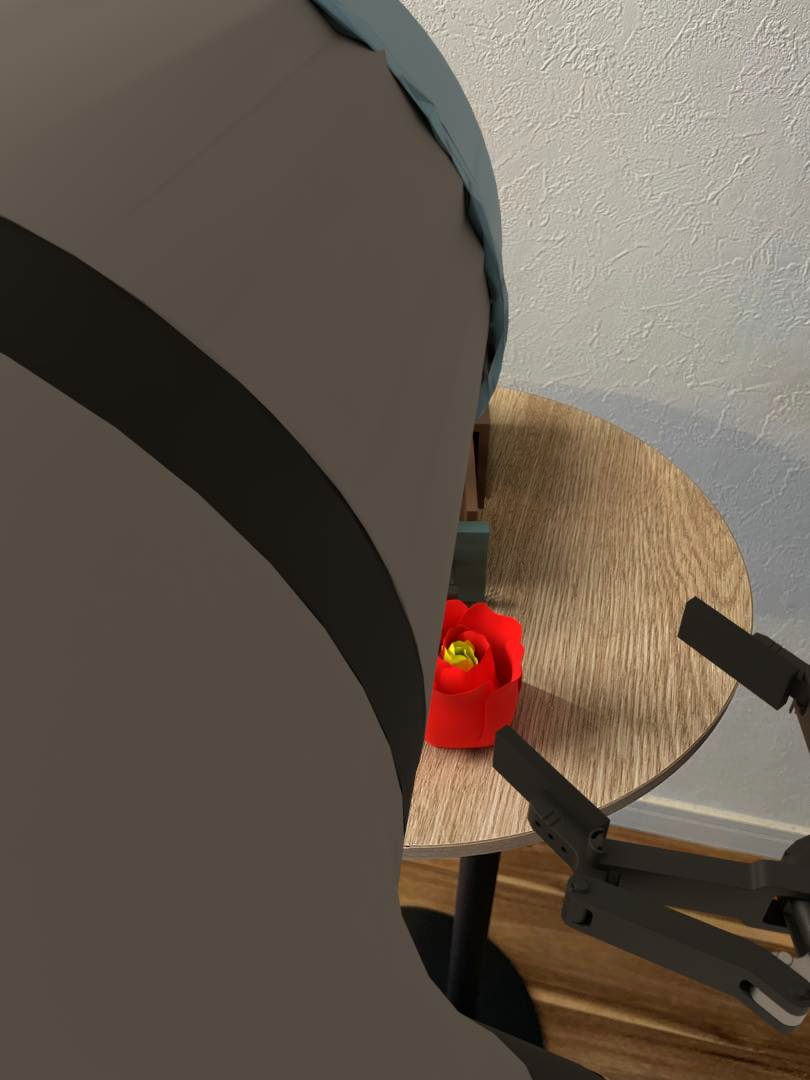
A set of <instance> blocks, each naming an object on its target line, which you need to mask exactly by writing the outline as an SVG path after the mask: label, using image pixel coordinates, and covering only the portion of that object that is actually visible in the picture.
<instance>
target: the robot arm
mask: <svg viewBox="0 0 810 1080" xmlns="http://www.w3.org/2000/svg"><path fill="white" fill-rule="evenodd" d="M469 101H470V100H469V99H468V97H467V96H466V94H465V92H464V89H463V87H462V86H461V84H460V81H459V80H458V78H457V76H456V75H455V73H454V71H453V70H452V68H451V67H450V65H449V63H448V61H447V60H446V58H445V57H444V55H443V53H442V52H441V51H440V49H439V48H438V46H437V45H436V43H435V42H434V40H433V39H432V38H431V37H430V35H429V33H428V32H427V31H426V30H425V28H424V27H423V26H422V25H421V24H420V22H419V21H418V20H417V19H416V18H415V16H414V15H413V14H412V13H411V11H410V10H409V9H408V8H407V7H406V6H405V4H403V2H402V1H401V0H0V1080H611V1079H610V1078H609V1077H606V1076H604V1075H602V1074H600V1073H598V1072H596V1071H593V1070H592V1069H589V1068H587V1067H585V1066H583V1065H582V1064H580V1063H578V1062H576V1061H573V1060H571V1059H569V1058H566V1057H564V1056H561V1055H559V1054H556V1053H555V1052H552V1051H550V1050H547V1049H545V1048H542V1047H540V1046H537V1045H535V1044H533V1043H530V1042H528V1041H526V1040H523V1039H521V1038H519V1037H516V1036H514V1035H511V1034H509V1033H507V1032H503V1031H502V1030H499V1029H497V1028H495V1027H493V1026H490V1025H488V1024H485V1023H483V1022H480V1021H478V1020H475V1019H473V1018H471V1017H469V1016H466V1015H464V1014H463V1013H461V1012H459V1010H458V1009H457V1008H456V1007H455V1005H453V1003H452V1002H451V1001H450V1000H449V999H448V997H447V996H446V995H445V994H444V993H443V992H442V990H441V989H440V988H439V987H438V985H436V983H435V982H434V980H433V979H431V978H430V976H429V974H428V971H427V969H426V967H425V964H424V962H423V960H422V958H421V956H420V954H419V950H418V949H417V947H416V944H415V942H414V940H413V938H412V935H411V933H410V931H409V928H408V926H407V924H406V921H405V919H404V918H403V915H402V909H401V903H400V895H399V884H400V875H401V869H402V861H403V853H404V847H405V840H406V833H407V827H408V824H409V823H408V822H409V817H410V811H411V806H412V799H413V794H414V790H415V782H416V777H417V772H418V768H419V765H420V762H421V758H422V753H423V749H424V744H425V741H426V740H425V734H426V728H427V721H428V715H429V709H430V702H431V696H432V689H433V683H434V677H435V670H436V664H437V657H438V651H439V645H440V638H441V632H442V625H443V619H444V613H445V606H446V600H447V594H448V587H449V581H450V574H451V568H452V562H453V555H454V549H455V542H456V536H457V530H458V523H459V517H460V510H461V504H462V498H463V491H464V485H465V478H466V472H467V466H468V459H469V453H470V446H471V441H472V435H473V429H474V424H475V422H476V421H477V419H478V418H479V417H480V416H481V415H482V414H483V413H484V411H485V409H486V407H487V405H488V403H490V401H491V400H492V397H493V395H494V393H495V391H496V389H497V386H498V382H499V380H500V375H501V372H502V367H503V360H504V355H505V351H506V350H505V349H506V346H507V342H508V335H509V334H508V333H509V323H510V321H509V320H510V319H509V317H510V315H509V305H510V304H509V292H508V288H507V283H506V279H505V275H504V273H505V272H504V264H503V262H504V261H503V254H502V253H503V227H502V225H503V224H502V213H501V211H502V210H501V204H500V197H499V193H498V192H499V191H498V185H497V180H496V176H495V173H494V168H493V165H492V160H491V157H490V154H489V151H488V147H487V144H486V141H485V138H484V135H483V132H482V129H481V127H480V124H479V123H478V120H477V117H476V115H475V112H474V110H473V108H472V105H471V103H470V102H469ZM676 637H677V638H678V639H679V640H681V641H682V642H683V643H685V644H686V645H687V646H689V648H691V649H693V650H694V651H695V652H697V653H698V654H699V655H701V656H702V657H704V658H705V659H706V660H708V661H709V662H711V663H712V664H713V665H714V666H715V667H717V668H718V669H720V670H721V671H722V672H724V673H725V674H727V675H728V676H729V677H731V678H732V679H733V680H735V681H736V682H737V683H739V684H740V685H742V686H743V687H744V688H746V689H747V690H748V691H750V692H751V693H752V694H754V696H756V697H758V698H759V699H760V700H762V701H763V702H765V703H766V704H767V705H768V706H770V707H771V708H773V709H774V710H775V711H776V712H778V711H779V710H780V709H782V708H783V707H784V706H785V705H787V703H788V701H789V698H792V701H791V704H790V706H789V709H788V714H792V713H793V710H794V713H793V714H794V715H796V717H797V721H798V723H799V726H800V730H801V733H802V735H803V739H804V742H805V745H806V748H807V751H808V753H809V755H810V664H809V663H807V662H805V661H804V660H803V659H801V658H800V657H798V656H797V655H795V654H794V653H792V652H791V651H790V650H788V649H787V648H785V647H783V646H782V645H781V644H780V643H778V642H776V641H775V640H773V639H772V638H771V637H770V636H768V635H765V634H763V633H760V632H758V631H757V632H755V633H754V634H751V633H750V632H748V631H747V630H745V629H744V628H742V627H741V626H740V625H738V624H737V623H735V622H734V621H733V620H731V619H730V618H728V617H727V616H725V615H724V614H722V613H721V612H719V611H718V610H717V609H715V608H713V606H711V605H710V604H708V603H707V602H705V601H704V600H702V599H701V598H700V597H698V596H696V595H694V596H693V597H691V598H689V600H687V601H686V602H685V605H684V609H683V613H682V617H681V620H680V624H679V629H678V632H677V635H676ZM492 755H493V756H492V763H491V767H492V768H493V769H494V770H495V772H497V774H499V775H500V776H501V777H502V779H504V780H505V781H506V782H507V783H508V784H509V785H510V786H511V787H512V788H513V789H514V790H516V792H517V793H518V794H519V795H520V796H522V798H524V799H525V800H526V802H528V809H527V816H526V819H527V821H528V823H529V826H530V828H531V830H533V831H534V832H535V833H536V835H537V836H538V837H540V838H541V839H542V841H544V842H545V843H546V844H547V846H549V848H550V849H552V851H553V852H555V853H556V855H558V857H560V859H562V861H564V862H565V863H566V865H568V866H569V868H570V869H571V871H572V875H571V876H569V878H568V879H567V882H566V887H565V891H564V896H563V901H562V905H561V906H562V907H561V910H560V917H561V920H562V922H563V923H564V924H565V925H566V926H568V927H569V928H570V929H573V930H575V931H577V932H580V933H583V934H585V935H587V936H589V937H592V938H593V939H596V940H598V941H601V942H603V943H606V944H608V945H611V946H613V947H615V948H618V949H620V950H622V951H624V952H627V953H629V954H632V955H634V956H636V957H638V958H641V959H644V960H646V961H648V962H650V963H652V964H655V965H657V966H660V967H662V968H664V969H667V970H669V971H672V972H674V973H676V974H679V975H681V976H683V977H686V978H688V979H690V980H693V981H694V982H697V983H700V984H701V985H704V986H706V987H709V988H711V989H714V990H715V991H717V992H721V993H723V994H725V995H728V996H730V997H732V998H735V999H737V1000H738V1001H739V1002H740V1003H742V1005H744V1006H745V1007H747V1008H748V1009H749V1010H750V1011H751V1012H753V1013H754V1014H755V1015H756V1016H758V1018H760V1019H761V1020H762V1021H764V1022H765V1023H766V1024H767V1025H769V1026H770V1027H771V1028H772V1029H774V1030H775V1031H776V1032H778V1033H780V1034H783V1035H790V1034H793V1033H795V1032H796V1031H797V1030H798V1028H799V1027H800V1026H801V1024H802V1022H803V1021H804V1019H805V1017H806V1016H807V1015H808V1013H809V1012H810V834H807V835H805V836H802V837H801V838H798V839H796V840H795V841H794V842H793V843H792V844H790V845H789V846H788V847H787V848H786V849H785V850H784V853H783V855H782V857H781V859H780V861H779V860H778V861H777V860H772V859H759V860H756V861H753V862H744V861H739V860H732V859H728V858H727V859H726V858H720V857H714V856H709V855H704V854H697V853H693V852H687V851H681V850H675V849H669V848H663V847H657V846H653V845H652V846H651V845H646V844H642V843H641V844H640V843H635V842H629V841H623V840H617V839H613V838H607V836H608V833H609V828H610V824H611V819H610V817H608V816H607V815H606V814H605V813H604V812H602V810H600V809H599V808H598V807H597V806H596V805H595V804H594V803H593V802H592V801H591V800H590V799H589V798H588V797H587V796H586V795H584V794H583V792H581V791H580V790H579V788H577V787H576V786H575V785H574V784H572V783H571V782H570V781H569V780H568V778H567V777H565V776H564V775H563V774H562V773H561V772H560V771H559V770H558V769H556V768H555V767H554V766H553V765H552V764H551V763H550V762H549V761H548V760H547V759H546V758H545V757H544V756H542V755H541V754H540V753H539V752H538V751H537V750H536V749H535V748H534V747H533V746H531V744H529V742H527V741H526V740H525V739H524V738H523V737H522V736H521V735H520V734H519V733H518V732H517V731H516V730H514V729H513V727H511V725H510V726H509V725H508V724H507V725H505V726H504V727H502V728H501V729H499V730H498V731H496V732H495V741H494V745H493V754H492ZM775 897H776V899H774V898H775ZM671 907H672V908H671ZM673 908H677V909H682V910H689V911H693V912H699V913H703V914H709V915H715V916H721V917H727V918H731V919H737V920H739V921H741V923H742V924H743V925H745V927H749V928H753V929H757V930H762V931H763V930H764V931H767V932H768V931H769V932H775V933H779V934H784V935H789V936H790V939H791V943H792V945H793V947H794V950H795V954H796V957H794V956H792V954H791V953H790V952H788V951H786V950H780V951H772V952H770V951H769V950H768V949H766V948H764V947H762V946H761V945H759V944H758V943H756V942H753V941H751V940H750V939H746V938H744V937H742V936H740V935H737V934H735V933H733V932H730V931H729V930H725V929H722V928H720V927H718V926H715V925H713V924H711V923H708V922H705V921H703V920H700V919H697V918H696V917H693V916H691V915H688V914H685V913H683V912H680V911H678V910H676V909H673Z"/></svg>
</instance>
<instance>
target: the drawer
mask: <svg viewBox="0 0 810 1080" xmlns="http://www.w3.org/2000/svg"><path fill="white" fill-rule="evenodd" d="M478 517H479V509H478V503H477V488H476V473H475V458H474V443H473V437H472V441H471V446H470V453H469V459H468V466H467V472H466V478H465V485H464V491H463V498H462V504H461V510H460V517H459V523H458V530H457V536H456V542H455V549H454V555H453V562H452V568H451V574H450V581H449V587H448V594H447V600H446V601H448V600H460V601H462V602H485V596H486V586H487V584H486V583H487V572H488V561H489V547H490V535H491V530H490V521H488V520H486V521H484V520H483V521H482V520H481V521H479V520H478Z"/></svg>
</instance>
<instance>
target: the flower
mask: <svg viewBox="0 0 810 1080" xmlns="http://www.w3.org/2000/svg"><path fill="white" fill-rule="evenodd" d="M522 638H523V626H522V624H521V622H519V621H518V620H517V619H516V618H514V617H512V616H510V615H503V614H499V613H497V612H494V611H493V610H492V609H491V607H489V605H488V604H486V603H485V602H476V603H475V604H472V605H471V606H470V607H468V606H467V605H466V604H465V603H464V601H460V600H448V601H446V606H445V613H444V619H443V625H442V632H441V638H440V645H439V651H438V657H437V664H436V670H435V677H434V683H433V689H432V696H431V702H430V709H429V715H428V721H427V728H426V734H425V740H424V741H425V742H426V743H428V744H429V745H431V746H433V747H438V748H443V749H444V748H445V749H481V748H482V749H483V748H487V747H488V748H489V747H491V746H494V741H495V732H496V731H498V730H499V729H501V728H502V727H504V726H505V725H507V724H508V725H509V726H510V727H511V724H512V722H513V720H514V717H515V713H516V709H517V706H518V700H519V693H520V692H521V688H522V684H523V667H522V662H523V658H524V655H525V647H524V645H523V643H522V640H523V639H522Z"/></svg>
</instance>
